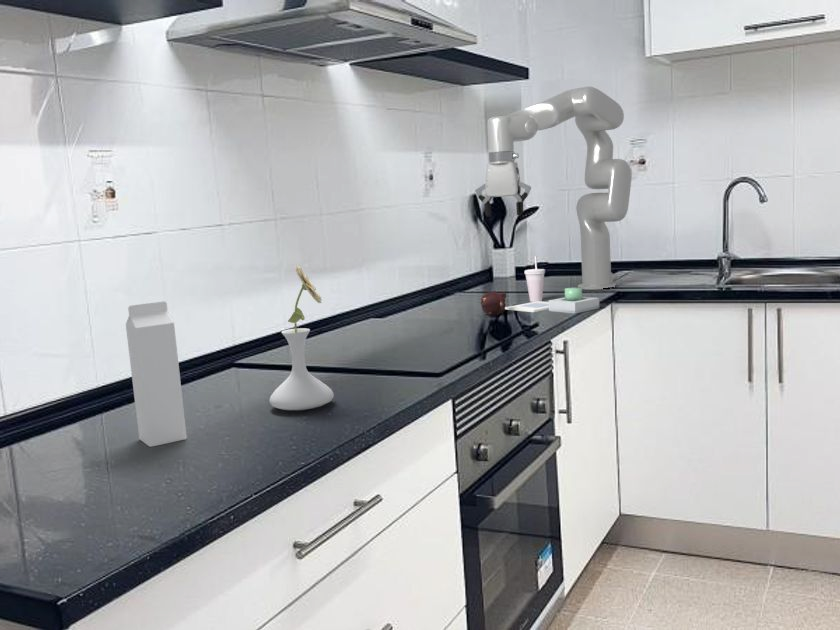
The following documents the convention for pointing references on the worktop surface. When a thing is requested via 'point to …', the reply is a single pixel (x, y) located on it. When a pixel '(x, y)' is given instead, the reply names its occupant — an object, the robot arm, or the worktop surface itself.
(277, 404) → the flower in vase
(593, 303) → the grey square block
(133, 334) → the milk
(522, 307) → the paper pad
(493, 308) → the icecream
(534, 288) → the smoothie
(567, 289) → the button
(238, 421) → the worktop surface
